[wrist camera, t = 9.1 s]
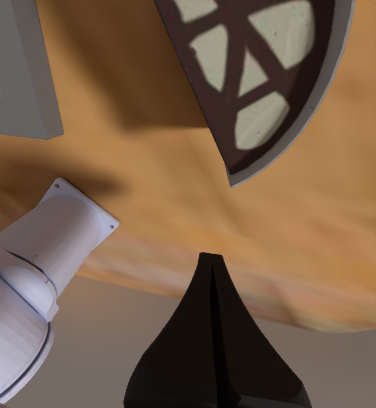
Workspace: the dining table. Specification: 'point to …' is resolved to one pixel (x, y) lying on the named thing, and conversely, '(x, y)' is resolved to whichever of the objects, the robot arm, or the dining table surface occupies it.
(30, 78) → the keypad
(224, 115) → the food container
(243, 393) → the robot arm
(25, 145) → the dining table surface
